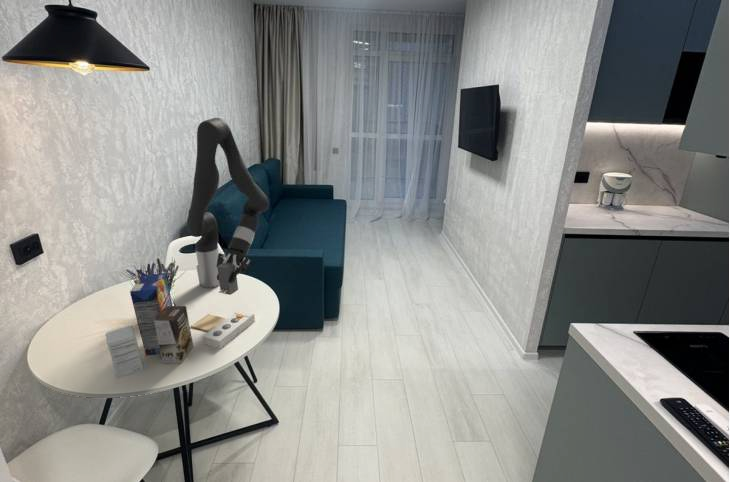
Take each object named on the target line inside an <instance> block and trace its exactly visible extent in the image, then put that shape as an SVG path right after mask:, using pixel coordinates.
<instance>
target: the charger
mask: <svg viewBox="0 0 730 482" xmlns="http://www.w3.org/2000/svg"><path fill="white" fill-rule="evenodd" d="M233 268H234V264H233V263H229V262H226V263H222V264H221V265H219V266H217V269H218V276H219V283H220V285H219V291H218V293H219V294H223V295H229V296H230V295H233V294H235V293H236V292H237V291H238V290H239V285H238V275H237V276H236V279H235V281H234V282H233V283H229V282H228V280H229V278H230V275H231V273H233Z"/></svg>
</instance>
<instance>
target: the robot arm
mask: <svg viewBox="0 0 730 482" xmlns="http://www.w3.org/2000/svg"><path fill="white" fill-rule="evenodd" d="M233 135H234V134H233V133H232V131H231V128H230V126H229V124H228V123H227V122H226V121H225V119H223V118H220V117H213V118H209V119H206V120H203V121H202V122H200V123H199V125H198V126H197V130H196V162H195V170H194V171H195V172H194V175H193V177H194V178H193V185H192V186H193V189H192V195H191V203H190V208H189V211H188V215H187V218H186V219H187V220H186V228H187V232H188V233H189V234H190V236H192V238H193V237H194V238H199V239H198V241H196V242H195V244H194V246H195V247H194V248H195V254H196V261H197V265H196V272H197V277H198V282H199V283H198V284H199V286H202V287H203V288H205V289H210V288H215V287H216V288H217V287H220V283H219V276H218V269H217V266H219V265H221V264H222V263H226V262H229V263H233V264H234V268H233V273H231V275H230V278H229V280H228V282H229V283H233V282H234V281H235V279H236V276H237V277H238V275H242V274H244V273H245V271H246V270H247V268H248V267H249V266H250V263H251V262H252V261H251V260H250V259H249V258H247V257H246V256H247V255H248V253H249V251H250V248H251V245H252V244H253V240H254V238H255V234H256V232H257V229H258V227H259V225H260V222H259V219H258V216H259V214H260V213H264V212H266V211H268V209H269V208H270V201H269V198H268V196H267V194H266V193H265V192H264V191H263V190H262V189H261V188H260V186H259V185H257V183H256V181H254V178H253V177H252V174H250V172H249V170H248V168H247V166H246V165H245V164H246V163H244V160H243V157H242V155H241V153H240V151H239V148H238V145H237V143H236V140H235V138H234V136H233ZM218 146H220V148H221V149H222V150H223V153H224V155H225V159H226V163H227V167H228V173H229V175H230V177H231V179H232V181H233V183H234V185H235V187H236V188H237V190H238V192H239V193H240V194H243V195H246V197H247V199H246V200H245V203H244V204H243V205H244V206H243V209H242V214H241V219H240V221H239V222H238V226H237V227H236V229H235V231H234V232H233V234H232V238H231V239H230V242H229V243H228V246H227V248H228V249H227V251H226V252H225V253H221V252H220V253H219V244H218V243H219V232H218V223H217V220H216V217H215V216H214V214H213V213H211V212H210V211H206V210H207V208H208V207H209V205H210V203H211V202H212V201H213V199H214V198H215V197H216V194H217V192H218V190H219V189H218V188H219V183H220V172H219V168H218V166H217V162H216V154H217V150H218V149H217V148H218Z"/></svg>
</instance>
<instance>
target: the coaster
mask: <svg viewBox="0 0 730 482" xmlns="http://www.w3.org/2000/svg"><path fill="white" fill-rule="evenodd" d="M225 319H227V318H225V317H222V316H217V315H214V314H210V313H208V314H207V315H204V316H203V317H201V318H200V319H199V320H198V321H196V322H194V323H192V325H190V328H194V329H196V330H200V331H204V332H206V333H208V332H209V331H210V330H212V329H213V328H214V327H216V326H217V325H219V324H220V323H221V322H223V321H224V320H225Z"/></svg>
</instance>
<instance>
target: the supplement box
mask: <svg viewBox="0 0 730 482" xmlns="http://www.w3.org/2000/svg"><path fill="white" fill-rule="evenodd" d="M105 338H106V344H107V349H108V351H109V354H110V358H111V362H112V365H113V368H114V369H113V370H114V372H115V376H116V378H118V377H119V378H122V377H124V375H125V376H128V375H130V374H133V373H137V372H139V371H142V370H143V369H144V366H143V360H142V357H141V353H140V348H139V345H138V341H137V337H136V334H135V331H134V328H133V325H128V326H124V327H121V328H118V329H115V330H111V331H108V332H105ZM127 374H128V375H127Z"/></svg>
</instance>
